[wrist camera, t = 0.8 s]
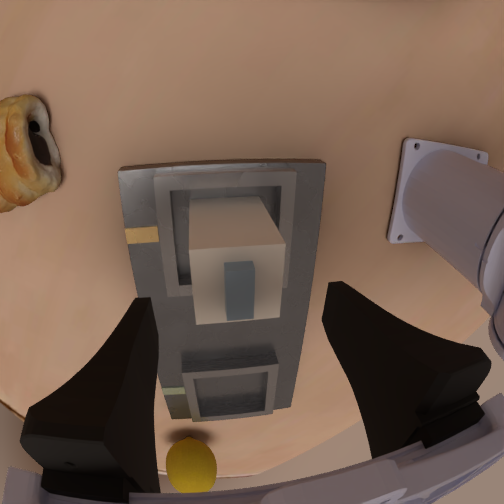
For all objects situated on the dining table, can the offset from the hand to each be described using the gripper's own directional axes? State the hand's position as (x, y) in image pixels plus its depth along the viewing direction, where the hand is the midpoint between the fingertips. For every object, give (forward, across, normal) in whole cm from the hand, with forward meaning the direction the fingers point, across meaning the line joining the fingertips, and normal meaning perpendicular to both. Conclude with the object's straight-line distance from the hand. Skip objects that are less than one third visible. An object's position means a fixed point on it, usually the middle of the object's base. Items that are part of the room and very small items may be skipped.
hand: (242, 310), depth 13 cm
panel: (+9, 0, +8) cm, 12 cm away
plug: (+8, 0, 0) cm, 8 cm away
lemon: (+9, +5, +26) cm, 28 cm away
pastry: (+9, +14, -6) cm, 17 cm away
